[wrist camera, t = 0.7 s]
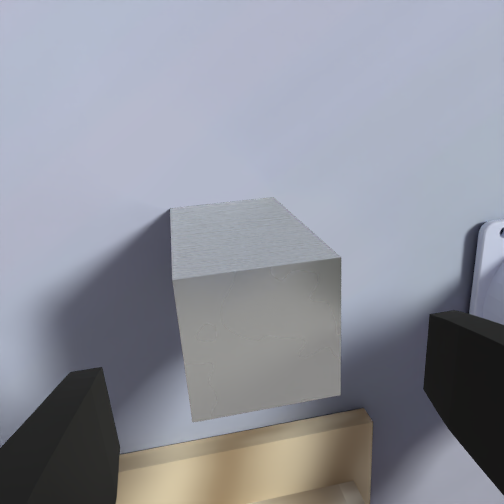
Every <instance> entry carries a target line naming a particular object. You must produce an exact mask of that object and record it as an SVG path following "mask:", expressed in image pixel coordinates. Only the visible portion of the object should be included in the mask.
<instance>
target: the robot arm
mask: <svg viewBox="0 0 504 504" xmlns="http://www.w3.org/2000/svg"><path fill="white" fill-rule="evenodd" d="M502 228H504V219H499V220H491V221H488V222H486V223H484V224H483V225H482V227H481V228H480V231H479V235H478V244H477V252H476V260H475V268H474V277H473V285H472V293H471V301H470V310H469V314H467V313H464V312H459V311H455V310H453V311H447V312H441V313H435V314H430V317H429V329H428V341H427V353H426V364H425V376H424V388H423V389H424V391H425V393H426V394H427V396H428V398H429V399H430V401H431V402H432V404H433V406H434V407H435V409H436V411H437V412H438V414H439V415H440V417H441V418H442V420H443V421H444V423H445V424H446V426H447V427H448V429H449V430H450V431H451V432H452V434H453V435H454V436H455V437H456V439H457V440H458V441H459V442H460V444H461V445H462V446H463V447H464V448H465V450H466V451H467V452H468V453H469V455H470V456H471V457H472V458H473V459H474V461H475V462H476V463H477V464H478V465H479V467H480V468H481V469H482V470H483V471H484V472H485V474H486V475H487V476H488V477H489V478H490V480H491V481H492V482H493V483H494V484H495V486H496V487H497V488H498V489H499V490H500V492H501V493H502V494H503V495H504V230H503V233H502V234H501V235H500V231H501V229H502ZM119 453H120V445H119V441H118V436H117V432H116V427H115V423H114V418H113V414H112V409H111V405H110V400H109V396H108V391H107V387H106V383H105V378H104V374H103V369H102V367H99V368H93V369H87V370H81V371H75V372H70V373H69V374H68V375H67V376H66V377H65V378H64V380H63V381H62V382H61V383H60V384H59V385H58V386H57V387H56V388H55V389H54V390H53V392H52V393H51V394H50V395H49V396H48V397H47V398H46V399H45V400H44V402H43V403H42V404H41V405H40V406H39V407H38V408H37V409H36V410H35V412H34V413H33V414H32V415H31V416H30V417H29V418H28V419H27V420H26V421H25V422H24V423H23V424H22V426H21V427H20V428H19V429H18V430H17V431H16V432H15V433H14V434H13V435H12V436H11V437H10V438H9V439H8V441H7V442H6V443H5V444H4V445H3V446H2V447H1V448H0V504H116V499H117V488H118V473H119Z"/></svg>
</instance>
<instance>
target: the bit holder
mask: <svg viewBox="0 0 504 504" xmlns="http://www.w3.org/2000/svg"><path fill="white" fill-rule="evenodd" d="M372 435H373V421H372V420H371V418H370V417H369V415H368V414H367V412H366V411H365V409H364V408H362V409H356V410H351V411H346V412H341V413H336V414H330V415H325V416H320V417H315V418H309V419H304V420H299V421H294V422H289V423H283V424H278V425H273V426H268V427H262V428H257V429H252V430H247V431H242V432H236V433H231V434H226V435H221V436H215V437H210V438H205V439H200V440H195V441H189V442H184V443H179V444H174V445H168V446H163V447H158V448H153V449H148V450H142V451H137V452H132V453H127V454H121V455H119V473H118V488H117V499H116V504H370V487H371V461H372Z"/></svg>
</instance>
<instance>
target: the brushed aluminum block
mask: <svg viewBox="0 0 504 504" xmlns="http://www.w3.org/2000/svg"><path fill="white" fill-rule="evenodd" d="M170 222H171V255H172V282H173V289H174V296H175V303H176V310H177V317H178V324H179V331H180V338H181V345H182V352H183V359H184V366H185V373H186V380H187V387H188V394H189V401H190V408H191V415H192V422H198V421H204V420H209V419H215V418H220V417H225V416H231V415H236V414H242V413H247V412H252V411H258V410H263V409H269V408H274V407H279V406H285V405H290V404H296V403H301V402H306V401H312V400H317V399H323V398H328V397H333V396H339V395H341V257H340V256H339V255H338V254H337V253H336V252H335V251H334V250H332V249H331V248H330V247H329V246H328V245H327V244H326V243H325V242H323V241H322V240H321V239H320V238H319V237H318V236H317V235H316V234H314V233H313V232H312V231H311V230H310V229H309V228H308V227H307V226H305V225H304V224H303V223H302V222H301V221H300V220H299V219H298V218H296V217H295V216H294V215H293V214H292V213H291V212H290V211H289V210H288V209H286V208H285V207H284V206H283V205H282V204H281V203H280V202H279V201H277V200H276V199H275V198H274V197H269V198H260V199H251V200H242V201H232V202H223V203H214V204H205V205H196V206H186V207H177V208H170Z"/></svg>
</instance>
